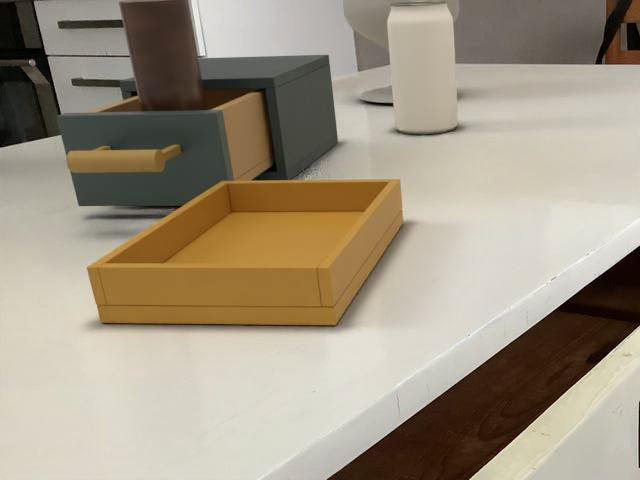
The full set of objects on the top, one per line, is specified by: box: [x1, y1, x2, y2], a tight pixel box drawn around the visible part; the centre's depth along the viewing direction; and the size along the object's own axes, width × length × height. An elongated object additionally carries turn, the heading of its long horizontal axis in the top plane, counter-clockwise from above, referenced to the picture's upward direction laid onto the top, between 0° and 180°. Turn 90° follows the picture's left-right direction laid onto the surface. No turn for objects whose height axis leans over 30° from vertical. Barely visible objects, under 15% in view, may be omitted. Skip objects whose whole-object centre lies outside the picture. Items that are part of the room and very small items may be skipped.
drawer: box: [56, 88, 276, 207], centre depth 63 cm, size 19×11×6 cm, turn 174°
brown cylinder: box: [118, 0, 207, 112], centre depth 62 cm, size 5×5×12 cm
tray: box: [86, 178, 404, 326], centre depth 49 cm, size 12×17×3 cm
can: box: [387, 1, 459, 135], centre depth 84 cm, size 6×6×12 cm
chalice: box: [342, 0, 461, 104], centre depth 103 cm, size 14×14×15 cm
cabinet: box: [118, 54, 339, 181], centre depth 74 cm, size 16×13×8 cm
